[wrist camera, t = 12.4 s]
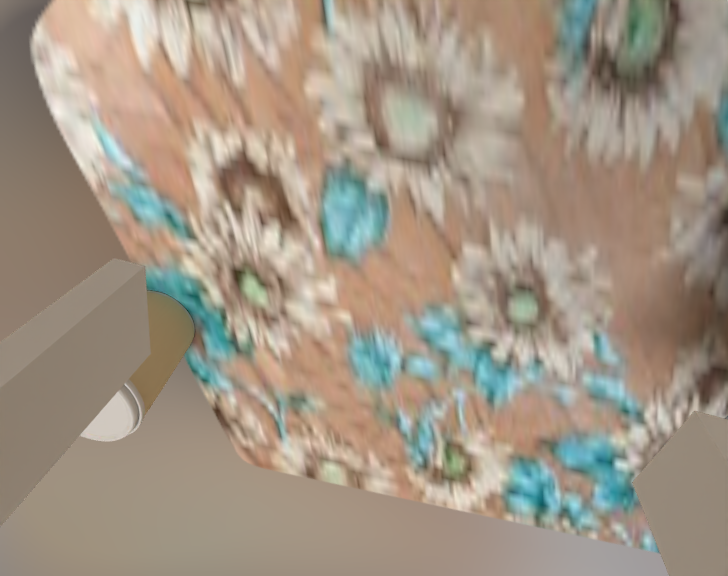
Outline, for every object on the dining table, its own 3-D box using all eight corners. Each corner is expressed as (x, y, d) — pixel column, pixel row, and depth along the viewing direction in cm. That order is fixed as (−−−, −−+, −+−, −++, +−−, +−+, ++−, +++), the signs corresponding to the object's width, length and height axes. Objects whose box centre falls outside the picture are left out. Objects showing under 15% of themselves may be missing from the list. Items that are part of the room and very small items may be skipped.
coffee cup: (116, 270, 45) (20, 345, 35) (207, 300, 45) (137, 383, 35) (118, 340, 50) (34, 423, 40) (199, 366, 50) (136, 456, 40)
